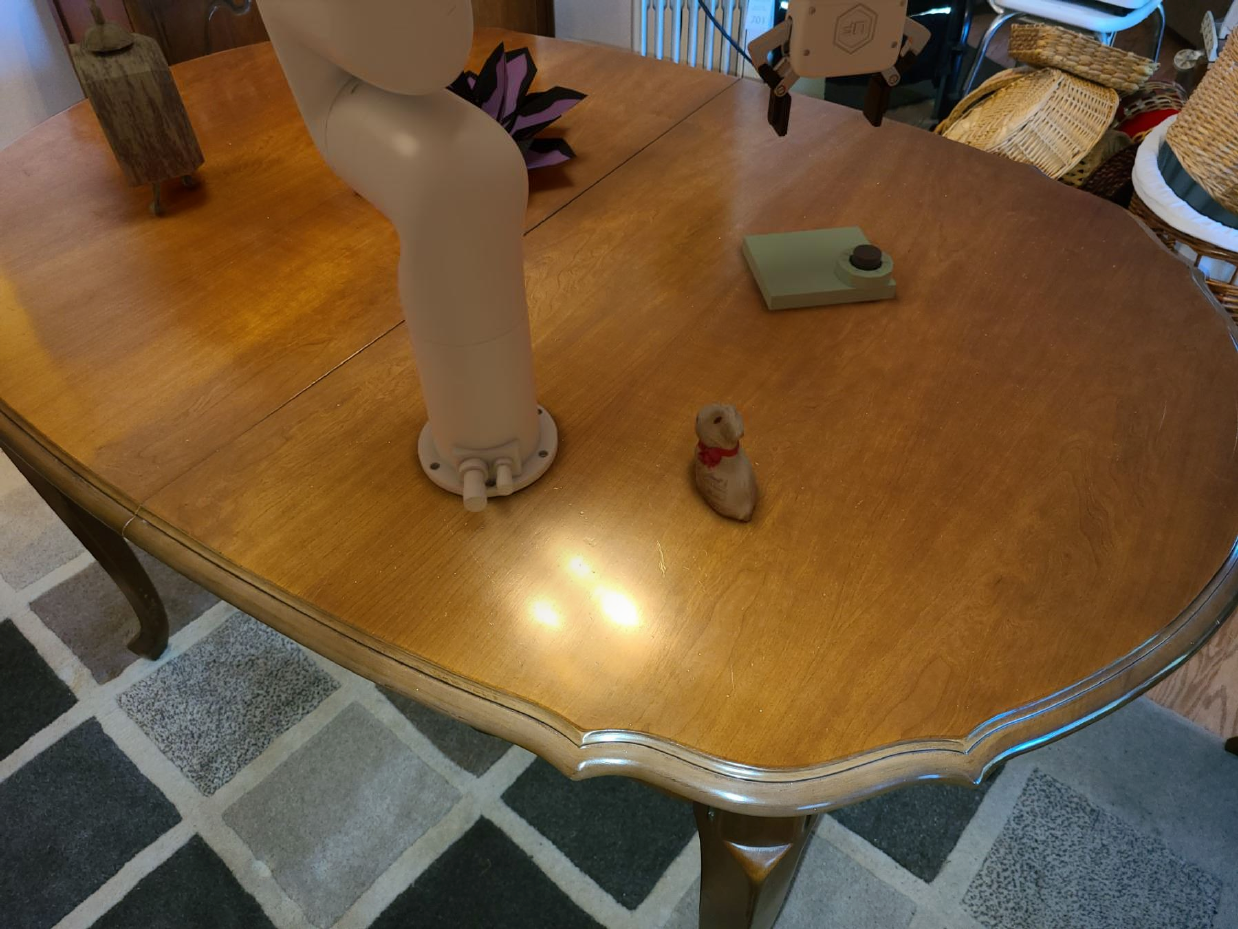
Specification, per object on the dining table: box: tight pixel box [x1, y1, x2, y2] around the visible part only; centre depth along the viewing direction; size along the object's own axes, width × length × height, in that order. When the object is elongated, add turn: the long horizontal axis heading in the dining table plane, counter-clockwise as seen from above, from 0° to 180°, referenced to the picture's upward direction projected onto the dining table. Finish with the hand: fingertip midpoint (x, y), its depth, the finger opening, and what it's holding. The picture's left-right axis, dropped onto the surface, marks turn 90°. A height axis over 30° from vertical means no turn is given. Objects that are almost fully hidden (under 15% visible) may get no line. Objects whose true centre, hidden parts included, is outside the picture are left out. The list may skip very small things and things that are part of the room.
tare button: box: [851, 244, 883, 271], centre depth 91 cm, size 3×3×2 cm
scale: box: [741, 225, 898, 311], centre depth 94 cm, size 12×14×4 cm
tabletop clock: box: [68, 0, 206, 216], centre depth 99 cm, size 14×9×25 cm, turn 30°
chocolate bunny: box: [694, 402, 758, 522], centre depth 70 cm, size 6×8×10 cm
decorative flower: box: [445, 41, 589, 171], centre depth 108 cm, size 32×32×15 cm
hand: (825, 125), depth 83 cm, fingers open, 9 cm apart
